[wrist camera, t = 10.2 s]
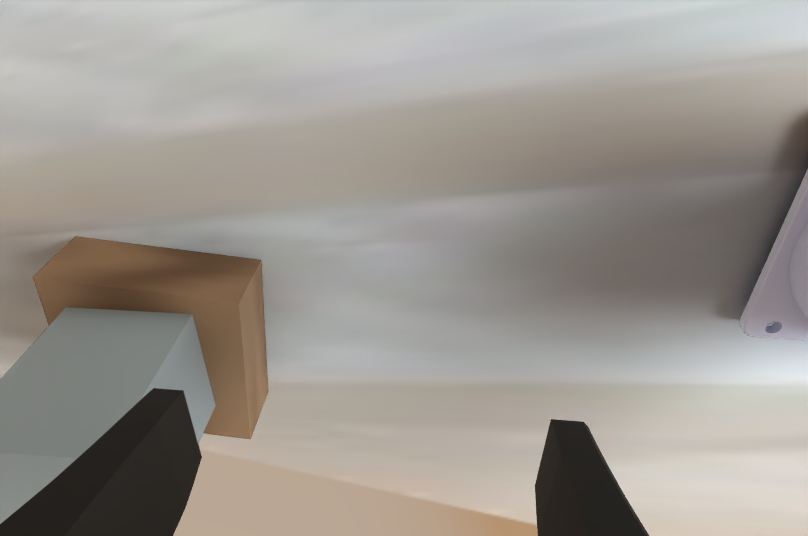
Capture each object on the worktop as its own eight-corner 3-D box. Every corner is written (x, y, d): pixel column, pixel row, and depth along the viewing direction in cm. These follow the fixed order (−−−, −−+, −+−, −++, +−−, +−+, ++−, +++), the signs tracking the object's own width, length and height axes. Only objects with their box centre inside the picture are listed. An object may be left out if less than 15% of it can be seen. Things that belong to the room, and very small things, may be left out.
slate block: (192, 314, 20) (103, 459, 15) (215, 405, 22) (146, 556, 17) (65, 307, 20) (-62, 448, 15) (102, 398, 23) (3, 544, 18)
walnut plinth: (264, 254, 22) (239, 303, 19) (270, 385, 26) (250, 439, 23) (81, 231, 22) (32, 277, 20) (115, 364, 26) (79, 417, 24)
